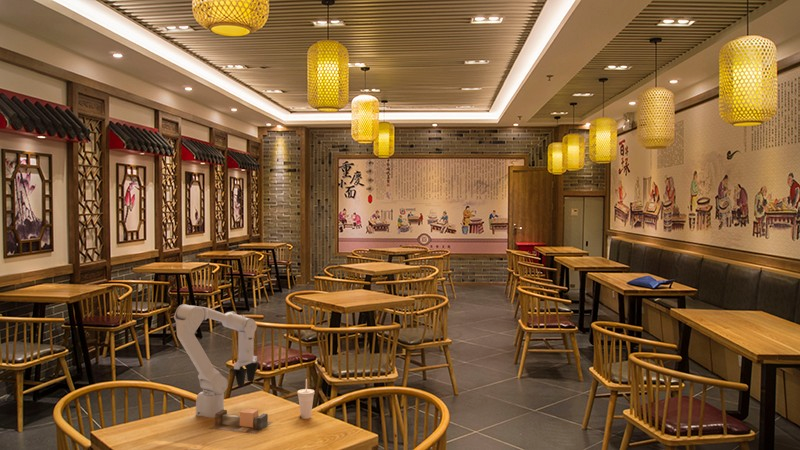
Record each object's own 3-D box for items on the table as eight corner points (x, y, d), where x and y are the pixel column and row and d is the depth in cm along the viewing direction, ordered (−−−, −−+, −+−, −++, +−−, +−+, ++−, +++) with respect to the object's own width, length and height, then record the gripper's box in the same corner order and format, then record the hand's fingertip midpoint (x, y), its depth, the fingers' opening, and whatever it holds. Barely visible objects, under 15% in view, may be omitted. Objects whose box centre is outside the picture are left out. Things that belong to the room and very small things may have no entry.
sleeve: (239, 426, 210) (239, 412, 210) (245, 422, 214) (245, 408, 214) (252, 427, 209) (252, 413, 209) (258, 423, 213) (258, 409, 213)
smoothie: (316, 414, 227) (316, 377, 227) (312, 420, 221) (312, 382, 220) (299, 414, 228) (299, 377, 228) (295, 419, 221) (295, 381, 221)
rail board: (209, 431, 209) (209, 416, 208) (227, 420, 220) (227, 406, 220) (256, 436, 204) (256, 421, 204) (272, 424, 216) (272, 410, 215)
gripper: (245, 353, 227) (245, 389, 227) (264, 345, 241) (263, 379, 241) (229, 352, 228) (228, 387, 229) (248, 344, 242) (248, 378, 243)
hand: (245, 383), depth 235 cm, fingers open, 7 cm apart
